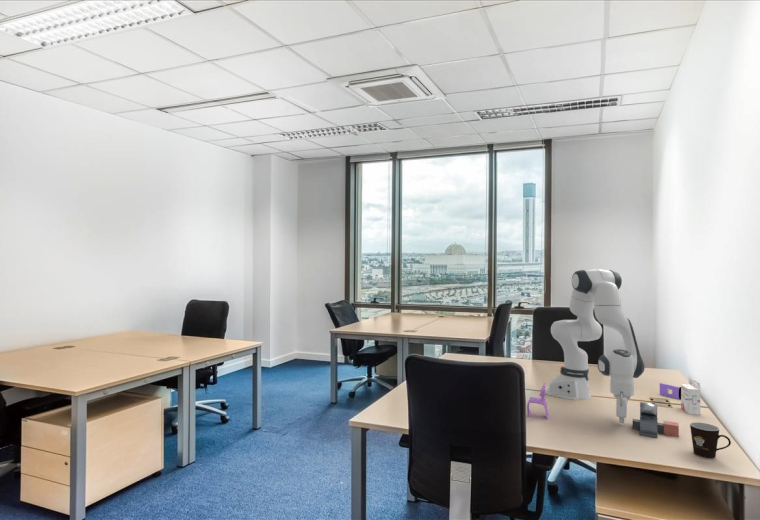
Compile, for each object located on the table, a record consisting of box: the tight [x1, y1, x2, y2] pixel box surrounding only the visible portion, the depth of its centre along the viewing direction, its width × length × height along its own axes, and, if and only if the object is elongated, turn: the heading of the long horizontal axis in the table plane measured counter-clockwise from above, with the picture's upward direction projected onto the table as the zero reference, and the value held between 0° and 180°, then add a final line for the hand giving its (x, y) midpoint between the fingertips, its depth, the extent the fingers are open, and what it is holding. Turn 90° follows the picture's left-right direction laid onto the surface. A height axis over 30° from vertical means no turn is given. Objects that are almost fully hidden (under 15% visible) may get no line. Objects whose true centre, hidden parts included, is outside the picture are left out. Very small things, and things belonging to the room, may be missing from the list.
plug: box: [632, 418, 680, 437], centre depth 187 cm, size 16×4×4 cm, turn 59°
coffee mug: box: [689, 421, 732, 459], centre depth 162 cm, size 12×9×10 cm
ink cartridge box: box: [680, 378, 701, 416], centre depth 212 cm, size 9×5×15 cm, turn 168°
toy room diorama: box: [659, 382, 681, 401], centre depth 236 cm, size 12×12×7 cm
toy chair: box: [526, 382, 550, 420], centre depth 204 cm, size 8×9×15 cm
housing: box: [639, 401, 659, 439], centre depth 188 cm, size 6×17×11 cm, turn 150°
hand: (621, 422), depth 193 cm, fingers closed
